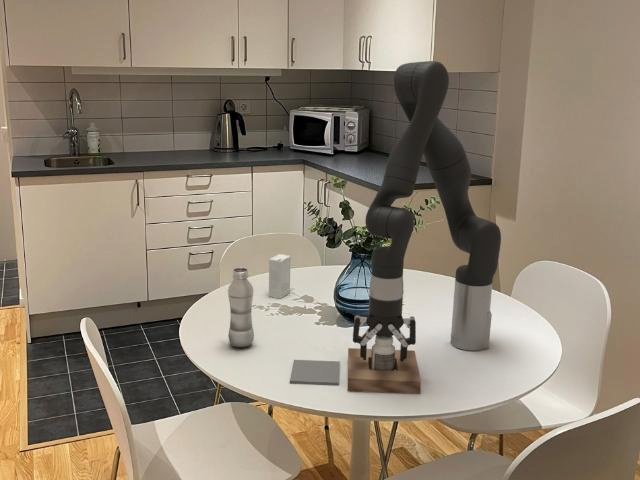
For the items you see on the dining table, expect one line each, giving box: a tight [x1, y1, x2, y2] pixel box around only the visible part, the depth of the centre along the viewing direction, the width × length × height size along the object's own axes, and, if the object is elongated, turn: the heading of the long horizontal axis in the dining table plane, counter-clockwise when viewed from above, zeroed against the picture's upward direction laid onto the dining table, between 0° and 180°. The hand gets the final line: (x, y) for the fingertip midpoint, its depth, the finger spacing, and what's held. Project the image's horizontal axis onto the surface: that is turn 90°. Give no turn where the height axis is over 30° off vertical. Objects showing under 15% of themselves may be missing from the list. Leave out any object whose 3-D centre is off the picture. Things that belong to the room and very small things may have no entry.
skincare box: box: [268, 253, 292, 299], centre depth 213 cm, size 6×4×12 cm
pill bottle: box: [370, 335, 396, 371], centre depth 163 cm, size 5×5×10 cm
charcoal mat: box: [289, 359, 341, 386], centre depth 165 cm, size 11×11×1 cm
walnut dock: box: [347, 347, 422, 395], centre depth 164 cm, size 16×16×3 cm
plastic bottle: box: [227, 267, 255, 348], centre depth 176 cm, size 6×7×20 cm
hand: (383, 359), depth 163 cm, fingers open, 8 cm apart
